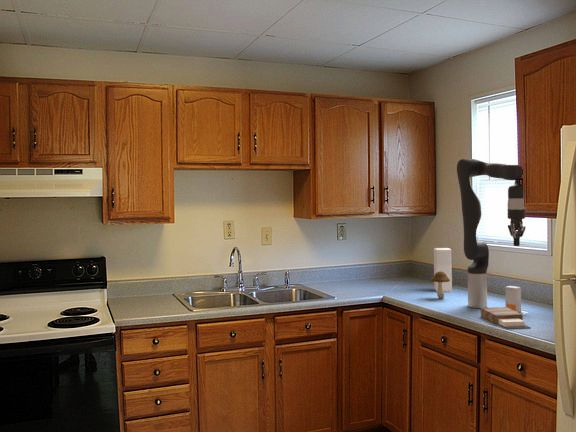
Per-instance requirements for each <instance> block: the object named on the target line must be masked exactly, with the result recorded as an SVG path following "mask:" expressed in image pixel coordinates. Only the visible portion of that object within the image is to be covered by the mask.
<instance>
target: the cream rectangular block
mask: <svg viewBox="0 0 576 432" xmlns="http://www.w3.org/2000/svg"><path fill="white" fill-rule="evenodd" d="M525 323H526V322H525V320H524V319H523V320H521V319H519V318H511V319H498V324H497V325H499V324H500V326H501V325H502V326H501V327H503V326H504V327H509V326H525V325H526V324H525ZM504 327H503V328H504Z"/></svg>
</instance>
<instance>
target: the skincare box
mask: <svg viewBox="0 0 576 432" xmlns="http://www.w3.org/2000/svg"><path fill="white" fill-rule="evenodd" d="M505 307H507V308H509V309H512V310H514V311H516V312H518V313H522V287H520V286H514V285H508V286H507V285H506V286H505Z"/></svg>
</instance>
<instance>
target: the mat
mask: <svg viewBox="0 0 576 432" xmlns="http://www.w3.org/2000/svg"><path fill="white" fill-rule="evenodd" d="M498 325H500V324H498ZM500 327H502V328H505V329H507V330H520V329H525V330H526V329H531V327H530V326H528V325H526V324H525V326H509V327H504V326H502V325H500Z"/></svg>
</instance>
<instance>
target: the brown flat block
mask: <svg viewBox="0 0 576 432" xmlns="http://www.w3.org/2000/svg"><path fill="white" fill-rule="evenodd" d="M523 315H524V314H522V312H516V311H514V310H512V309H509V308H507V307H506V306H498V307H494V306H493V307H485V308H480V317H482V318H484V319H485V320H488V321H489V322H491V323H492V324H494V325H499V324H498V319H511V318H519V319H521V320H523V321H524V319H523V317H524V316H523Z"/></svg>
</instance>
